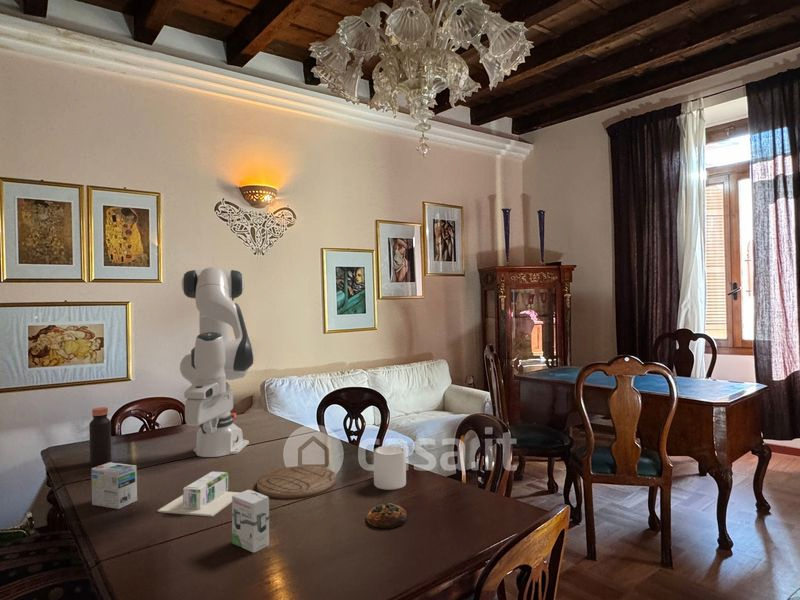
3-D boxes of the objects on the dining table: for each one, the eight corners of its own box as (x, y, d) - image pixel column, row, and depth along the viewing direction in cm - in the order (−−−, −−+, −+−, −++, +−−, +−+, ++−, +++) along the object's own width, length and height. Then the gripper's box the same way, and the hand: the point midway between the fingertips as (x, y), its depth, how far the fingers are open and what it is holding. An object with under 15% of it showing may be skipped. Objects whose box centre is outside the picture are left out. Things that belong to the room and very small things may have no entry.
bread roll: (393, 532, 127) (391, 512, 127) (358, 528, 133) (356, 509, 133) (415, 518, 136) (413, 499, 137) (382, 514, 142) (380, 496, 143)
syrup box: (228, 490, 155) (201, 509, 141) (211, 489, 157) (182, 508, 142) (228, 472, 155) (200, 489, 141) (211, 470, 157) (182, 488, 142)
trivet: (298, 466, 179) (298, 461, 179) (352, 480, 165) (352, 474, 165) (240, 488, 159) (240, 482, 159) (295, 506, 145) (295, 500, 145)
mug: (367, 477, 167) (366, 444, 167) (396, 473, 171) (395, 441, 171) (379, 491, 154) (379, 456, 154) (410, 486, 158) (410, 452, 158)
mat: (192, 490, 157) (192, 489, 157) (242, 494, 153) (242, 492, 153) (157, 512, 141) (157, 510, 141) (212, 516, 138) (212, 514, 138)
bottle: (85, 464, 183) (84, 409, 183) (102, 459, 190) (102, 406, 190) (98, 466, 181) (97, 411, 181) (115, 461, 187) (114, 407, 187)
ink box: (230, 543, 122) (230, 495, 122) (247, 535, 126) (247, 488, 126) (253, 553, 117) (252, 503, 117) (270, 545, 121) (269, 496, 121)
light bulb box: (138, 500, 150) (137, 464, 150) (118, 509, 143) (118, 472, 143) (110, 496, 153) (110, 461, 153) (90, 505, 147) (90, 468, 147)
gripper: (220, 380, 162) (220, 423, 163) (180, 393, 142) (181, 442, 143) (237, 381, 161) (238, 424, 161) (200, 394, 141) (201, 443, 141)
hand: (211, 432), depth 152 cm, fingers closed
